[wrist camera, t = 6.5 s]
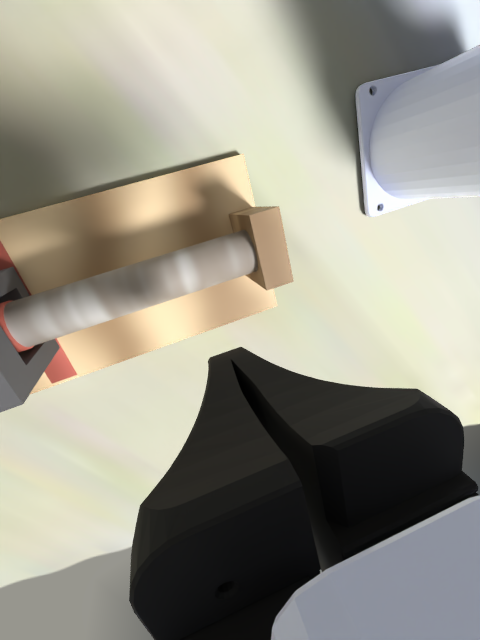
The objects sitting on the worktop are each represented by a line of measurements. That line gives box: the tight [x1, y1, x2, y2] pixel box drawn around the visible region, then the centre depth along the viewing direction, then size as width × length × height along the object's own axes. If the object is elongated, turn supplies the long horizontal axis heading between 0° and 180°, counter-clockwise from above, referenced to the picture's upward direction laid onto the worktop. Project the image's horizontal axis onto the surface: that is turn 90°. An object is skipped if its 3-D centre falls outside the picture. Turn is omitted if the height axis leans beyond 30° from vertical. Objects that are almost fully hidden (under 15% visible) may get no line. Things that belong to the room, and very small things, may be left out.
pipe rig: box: [0, 154, 293, 395], centre depth 17 cm, size 20×10×5 cm, turn 105°
